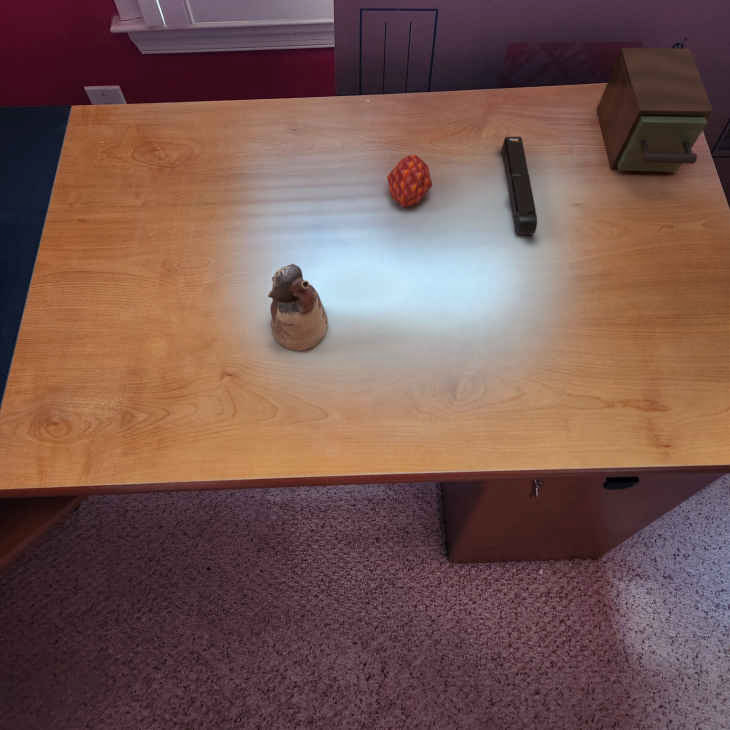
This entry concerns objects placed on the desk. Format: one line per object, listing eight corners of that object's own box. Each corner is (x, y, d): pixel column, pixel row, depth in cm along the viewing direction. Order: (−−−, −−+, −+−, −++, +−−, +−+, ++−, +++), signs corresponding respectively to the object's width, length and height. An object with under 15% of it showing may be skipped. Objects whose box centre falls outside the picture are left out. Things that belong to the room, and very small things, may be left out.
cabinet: (676, 170, 88) (713, 111, 79) (610, 169, 88) (639, 110, 79) (657, 110, 94) (689, 48, 85) (596, 109, 95) (621, 47, 85)
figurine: (304, 296, 78) (294, 236, 67) (339, 329, 75) (334, 273, 65) (262, 326, 75) (245, 270, 65) (296, 362, 73) (284, 309, 62)
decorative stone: (386, 211, 88) (399, 162, 88) (428, 218, 86) (442, 167, 86) (375, 194, 81) (389, 141, 82) (420, 201, 79) (435, 147, 80)
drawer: (683, 191, 85) (715, 142, 77) (622, 190, 85) (648, 141, 77) (659, 115, 93) (686, 64, 85) (604, 114, 93) (625, 63, 85)
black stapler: (533, 238, 82) (539, 223, 79) (515, 238, 82) (520, 223, 79) (517, 148, 90) (521, 132, 88) (500, 148, 90) (504, 133, 88)
